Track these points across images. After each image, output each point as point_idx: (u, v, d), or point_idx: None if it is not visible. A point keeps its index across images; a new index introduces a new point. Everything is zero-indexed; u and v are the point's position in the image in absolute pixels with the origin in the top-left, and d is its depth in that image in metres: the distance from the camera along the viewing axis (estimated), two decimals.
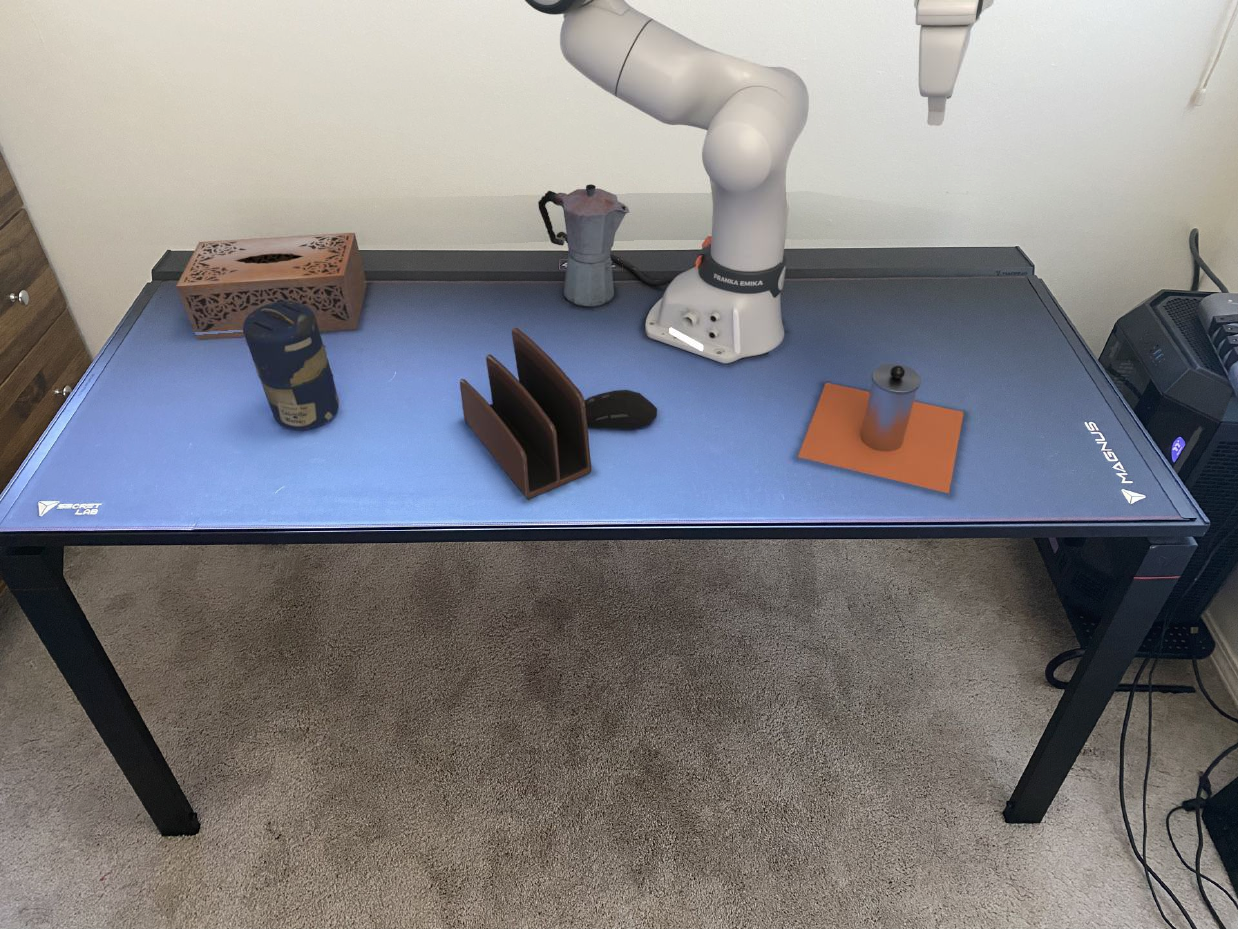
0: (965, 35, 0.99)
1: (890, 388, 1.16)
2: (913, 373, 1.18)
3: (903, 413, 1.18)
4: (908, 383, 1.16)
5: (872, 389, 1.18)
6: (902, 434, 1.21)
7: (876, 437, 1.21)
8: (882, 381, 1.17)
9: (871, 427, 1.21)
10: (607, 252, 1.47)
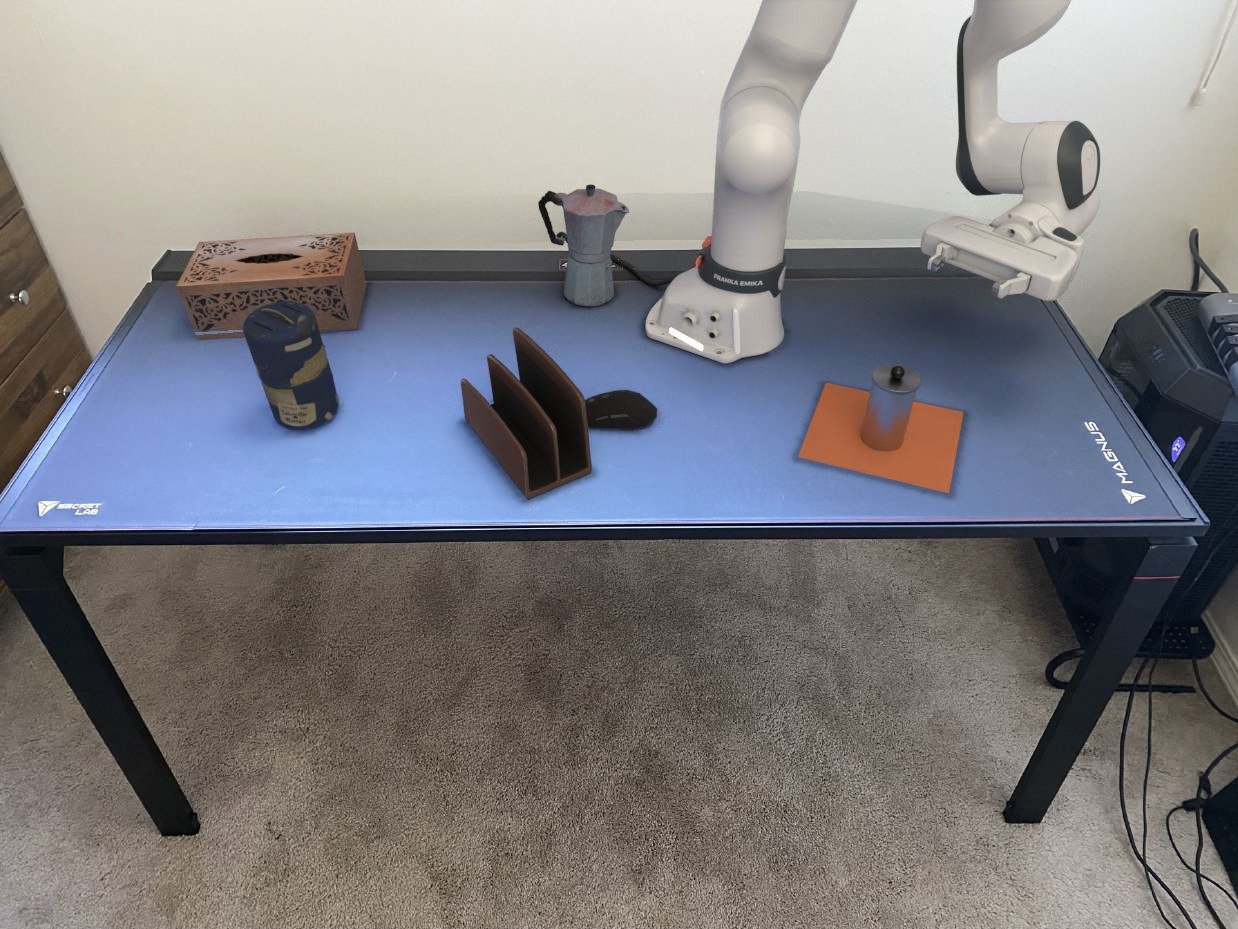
0: None
1: (890, 388, 1.16)
2: (913, 373, 1.18)
3: (903, 413, 1.18)
4: (908, 383, 1.16)
5: (872, 389, 1.18)
6: (902, 434, 1.21)
7: (876, 437, 1.21)
8: (882, 381, 1.17)
9: (871, 427, 1.21)
10: (607, 252, 1.47)
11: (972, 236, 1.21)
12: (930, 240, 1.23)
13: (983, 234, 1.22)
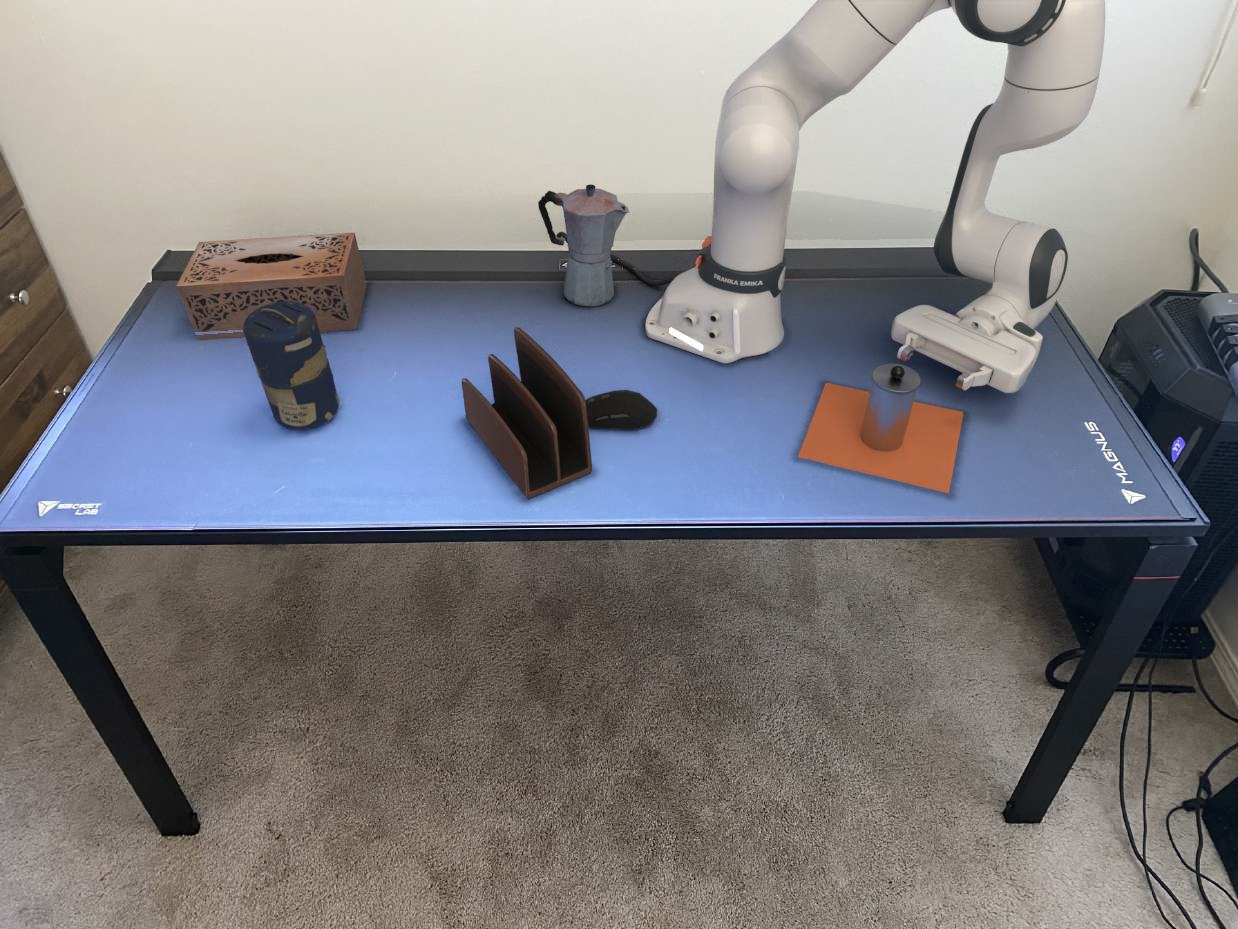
0: None
1: (890, 388, 1.16)
2: (913, 373, 1.18)
3: (903, 413, 1.18)
4: (908, 383, 1.16)
5: (872, 389, 1.18)
6: (902, 434, 1.21)
7: (876, 437, 1.21)
8: (882, 381, 1.17)
9: (871, 427, 1.21)
10: (607, 252, 1.47)
11: (939, 327, 1.29)
12: (900, 329, 1.31)
13: (950, 324, 1.30)
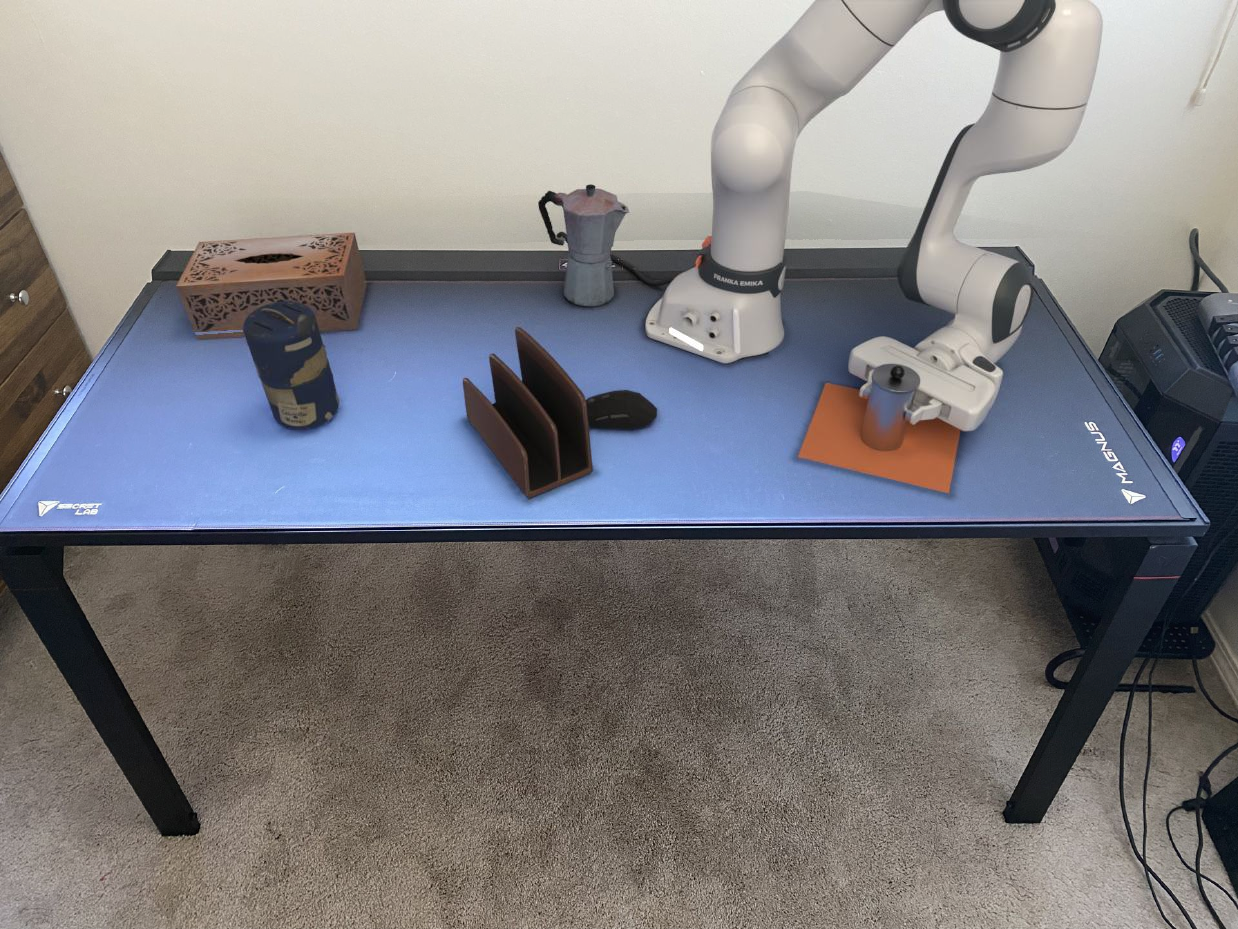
0: None
1: (890, 387, 1.16)
2: (913, 373, 1.18)
3: (902, 413, 1.18)
4: (908, 383, 1.16)
5: (872, 389, 1.18)
6: (902, 434, 1.21)
7: (876, 437, 1.21)
8: (882, 381, 1.17)
9: (871, 427, 1.21)
10: (607, 252, 1.47)
11: (897, 361, 1.24)
12: (857, 362, 1.26)
13: (908, 358, 1.25)
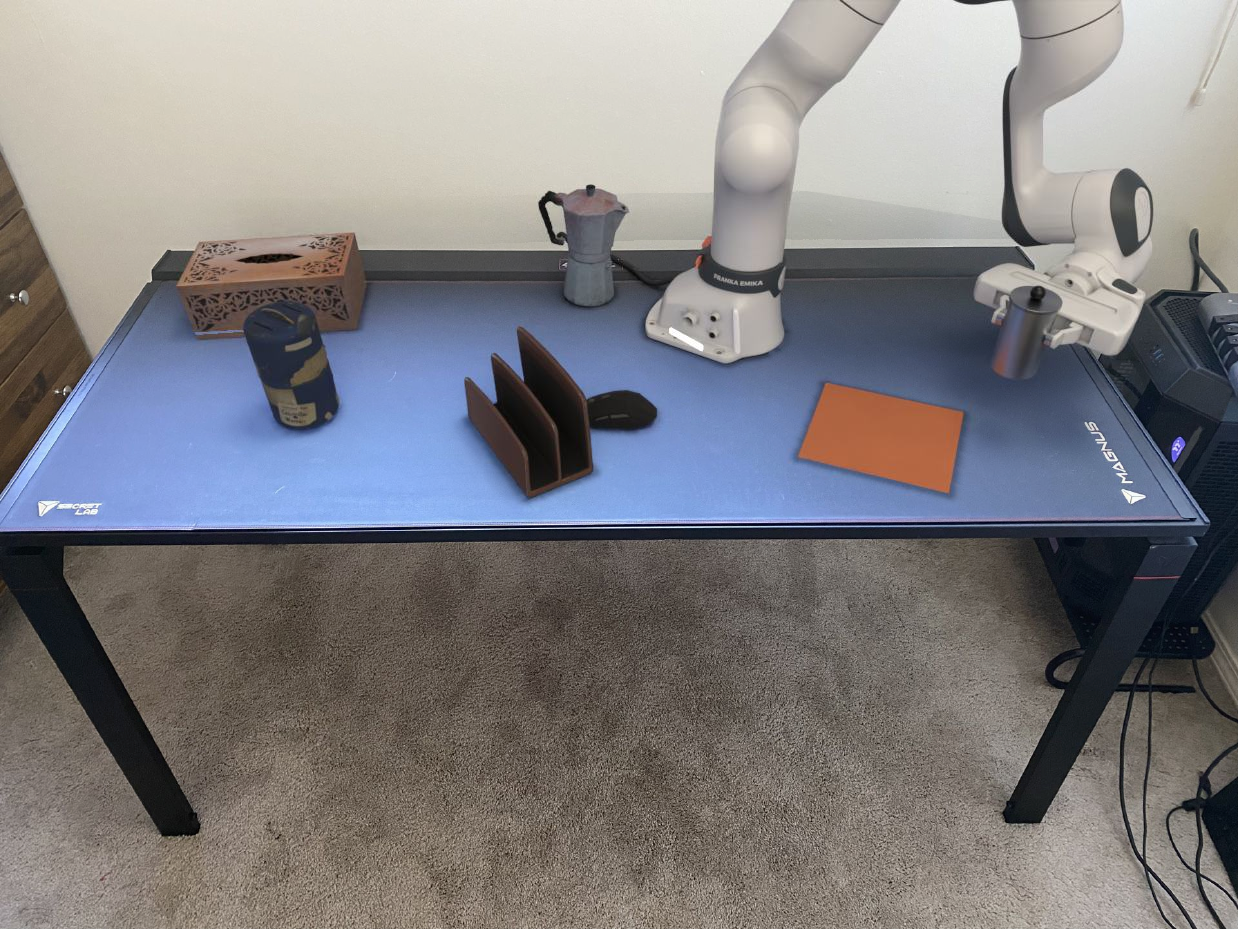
0: None
1: (1031, 308, 1.10)
2: (1053, 295, 1.12)
3: (1042, 336, 1.12)
4: (1050, 304, 1.10)
5: (1009, 312, 1.13)
6: (1038, 361, 1.15)
7: (1010, 364, 1.15)
8: (1022, 302, 1.11)
9: (1006, 353, 1.15)
10: (607, 252, 1.47)
11: None
12: (985, 288, 1.20)
13: (1040, 283, 1.19)
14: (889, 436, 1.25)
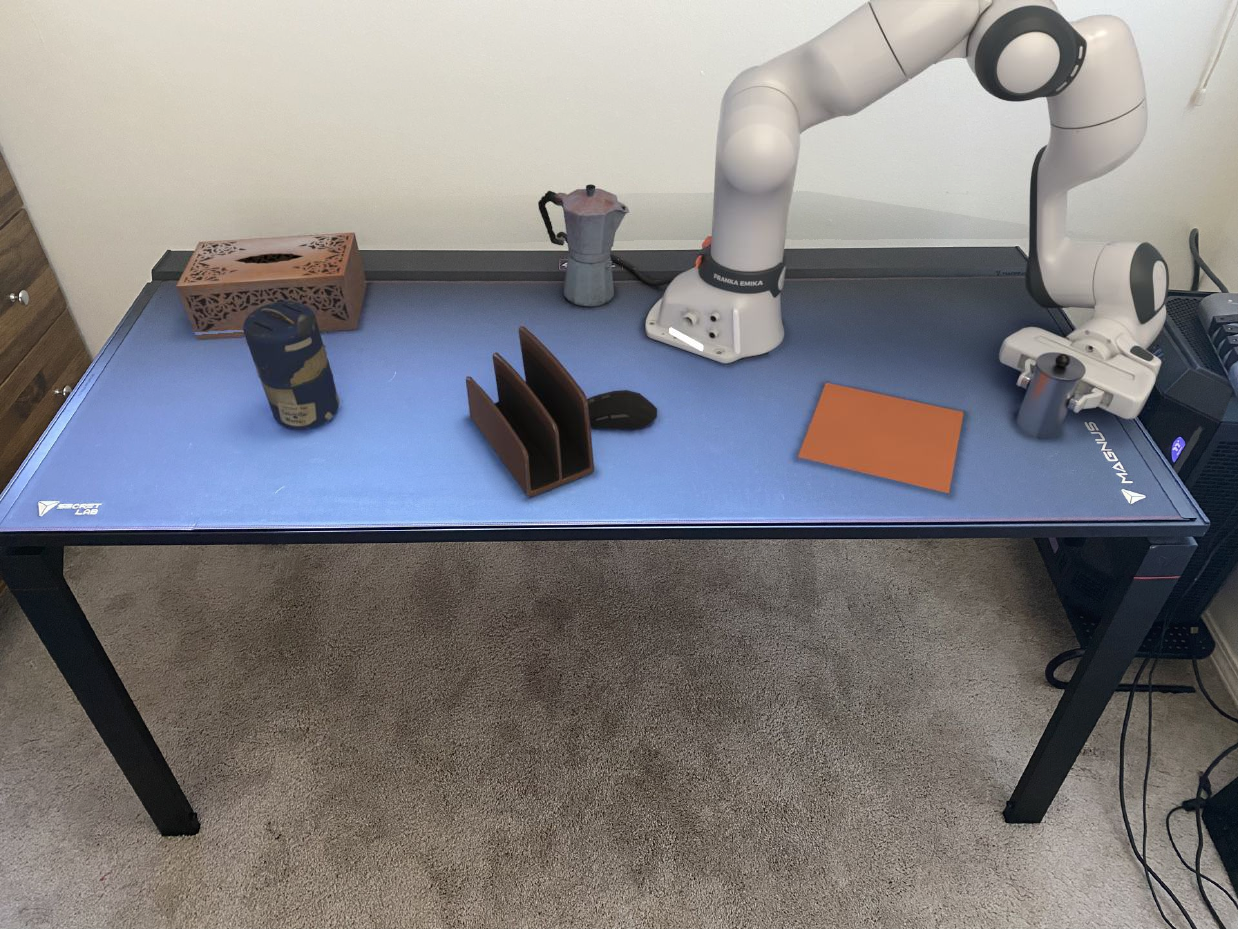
0: None
1: (1057, 375, 1.18)
2: (1076, 362, 1.20)
3: (1066, 400, 1.20)
4: (1074, 371, 1.18)
5: (1036, 377, 1.21)
6: (1062, 422, 1.23)
7: (1035, 425, 1.23)
8: (1048, 369, 1.19)
9: (1031, 415, 1.23)
10: (607, 252, 1.47)
11: (1052, 350, 1.27)
12: (1010, 352, 1.28)
13: (1062, 348, 1.28)
14: (889, 436, 1.25)
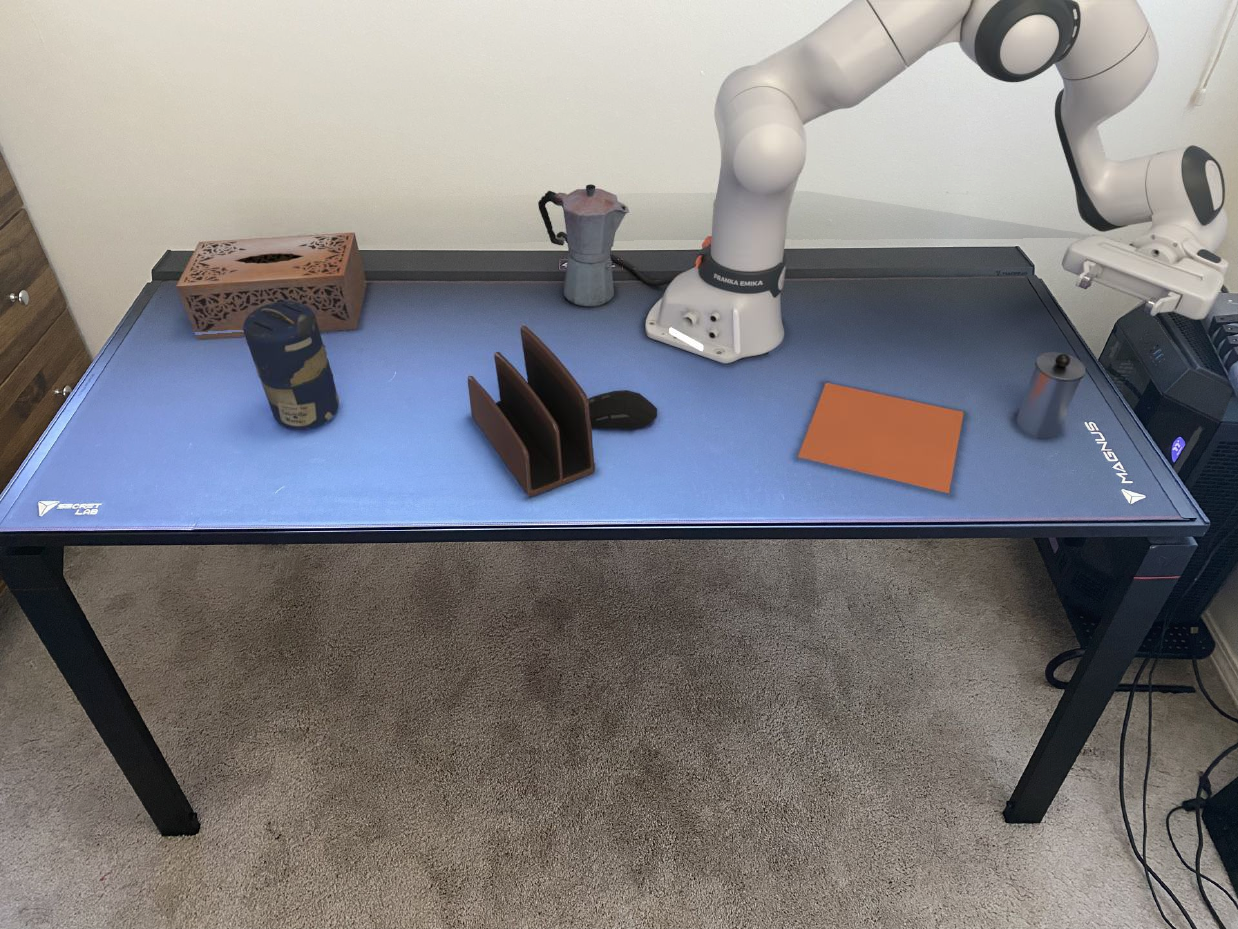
0: None
1: (1057, 375, 1.18)
2: (1076, 362, 1.20)
3: (1066, 400, 1.20)
4: (1074, 371, 1.18)
5: (1036, 377, 1.21)
6: (1062, 422, 1.23)
7: (1035, 425, 1.23)
8: (1048, 369, 1.19)
9: (1031, 415, 1.23)
10: (607, 252, 1.47)
11: (1117, 255, 1.26)
12: (1075, 257, 1.28)
13: (1127, 253, 1.27)
14: (889, 436, 1.25)
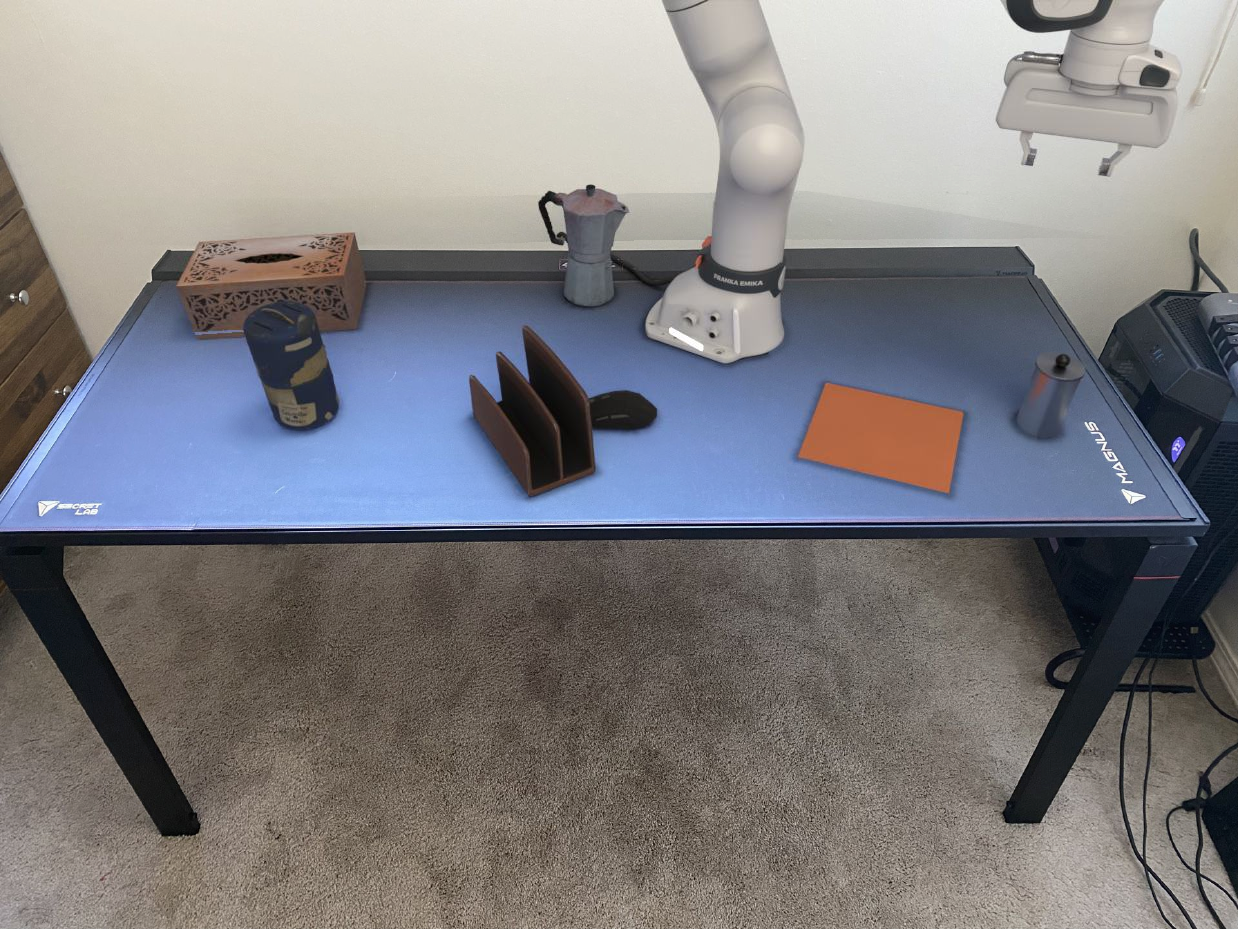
0: None
1: (1057, 375, 1.18)
2: (1076, 362, 1.20)
3: (1066, 400, 1.20)
4: (1074, 371, 1.18)
5: (1036, 377, 1.21)
6: (1062, 422, 1.23)
7: (1035, 425, 1.23)
8: (1048, 369, 1.19)
9: (1031, 415, 1.23)
10: (607, 252, 1.47)
11: (1052, 113, 1.12)
12: None
13: (1061, 95, 1.10)
14: (889, 436, 1.25)
